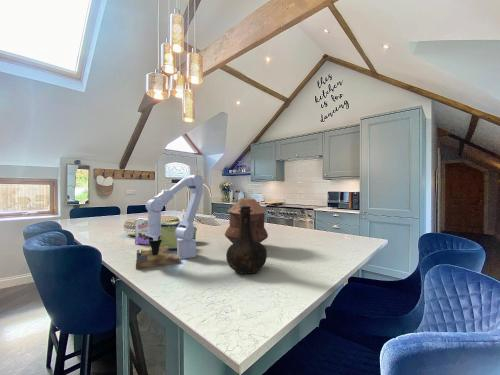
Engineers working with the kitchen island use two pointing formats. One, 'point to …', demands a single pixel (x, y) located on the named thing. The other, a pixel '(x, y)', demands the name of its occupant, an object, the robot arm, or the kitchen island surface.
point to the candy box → (141, 231)
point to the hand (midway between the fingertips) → (154, 252)
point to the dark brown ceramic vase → (246, 247)
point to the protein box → (169, 235)
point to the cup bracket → (141, 257)
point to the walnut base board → (158, 262)
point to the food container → (194, 233)
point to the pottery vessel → (256, 220)
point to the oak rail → (161, 255)
